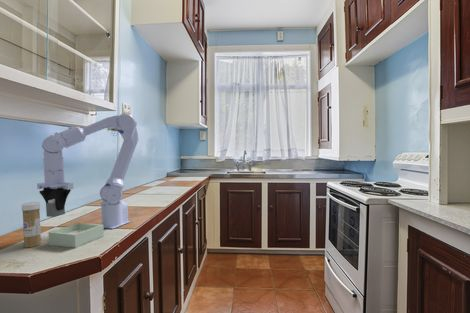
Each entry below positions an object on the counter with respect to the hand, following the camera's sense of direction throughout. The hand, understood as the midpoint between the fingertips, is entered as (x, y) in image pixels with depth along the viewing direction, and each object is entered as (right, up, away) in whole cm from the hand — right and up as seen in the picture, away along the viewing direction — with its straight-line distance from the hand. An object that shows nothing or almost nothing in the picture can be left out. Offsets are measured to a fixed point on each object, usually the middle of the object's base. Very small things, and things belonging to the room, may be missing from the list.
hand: (56, 209), depth 93 cm
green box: (+11, -9, -5) cm, 15 cm away
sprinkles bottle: (-2, -10, -9) cm, 13 cm away
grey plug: (0, -2, 0) cm, 2 cm away
